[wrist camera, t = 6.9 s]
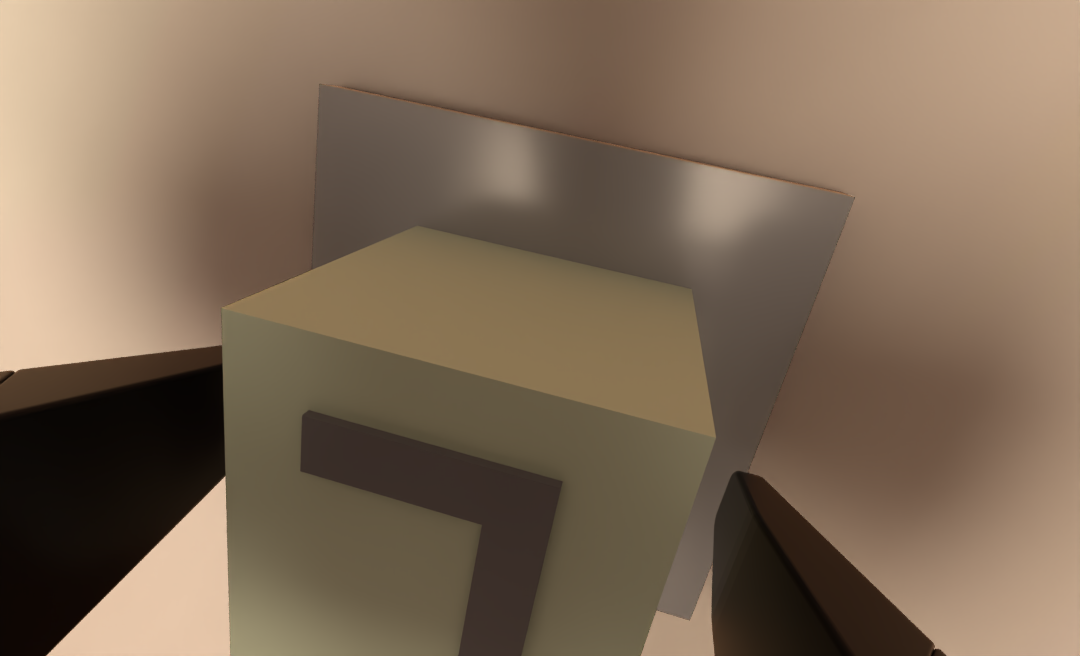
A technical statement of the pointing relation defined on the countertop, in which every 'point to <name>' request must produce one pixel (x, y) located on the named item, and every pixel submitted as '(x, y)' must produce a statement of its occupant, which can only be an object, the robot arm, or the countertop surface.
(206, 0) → the countertop surface
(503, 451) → the letter cube
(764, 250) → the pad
